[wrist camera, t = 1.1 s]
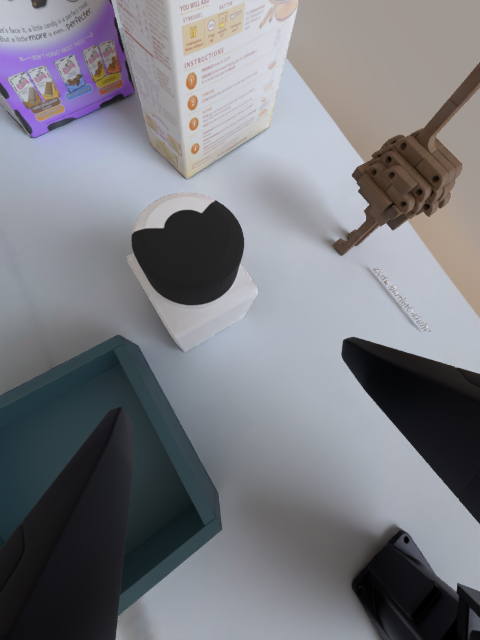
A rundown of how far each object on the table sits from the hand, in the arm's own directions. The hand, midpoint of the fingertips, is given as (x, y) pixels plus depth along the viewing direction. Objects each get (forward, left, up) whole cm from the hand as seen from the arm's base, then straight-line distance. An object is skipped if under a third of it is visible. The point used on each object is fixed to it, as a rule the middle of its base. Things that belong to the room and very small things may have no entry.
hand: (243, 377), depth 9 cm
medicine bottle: (+8, -2, -13) cm, 16 cm away
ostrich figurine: (+1, -21, -13) cm, 25 cm away
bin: (0, +12, -13) cm, 18 cm away
